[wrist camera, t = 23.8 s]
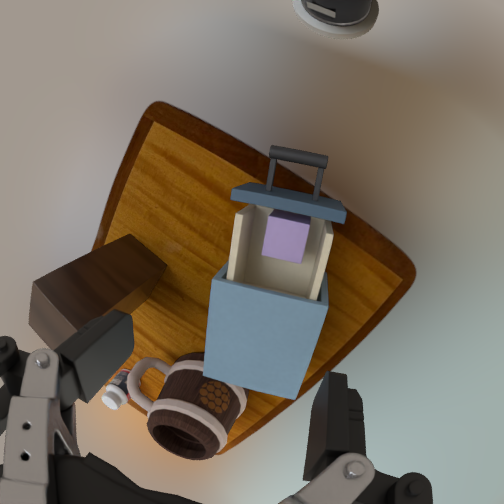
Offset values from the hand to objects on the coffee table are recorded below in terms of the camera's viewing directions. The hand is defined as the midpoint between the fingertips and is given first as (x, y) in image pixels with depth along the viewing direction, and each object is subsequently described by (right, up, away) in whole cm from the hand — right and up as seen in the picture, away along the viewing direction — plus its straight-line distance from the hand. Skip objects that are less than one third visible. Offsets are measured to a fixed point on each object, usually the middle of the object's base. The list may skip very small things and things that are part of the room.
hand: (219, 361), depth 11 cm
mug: (-8, -18, +38) cm, 43 cm away
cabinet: (+4, -4, +31) cm, 31 cm away
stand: (-17, +2, +34) cm, 38 cm away
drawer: (+6, +8, +25) cm, 27 cm away
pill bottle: (-25, -23, +44) cm, 55 cm away
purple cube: (+6, +7, +25) cm, 26 cm away
